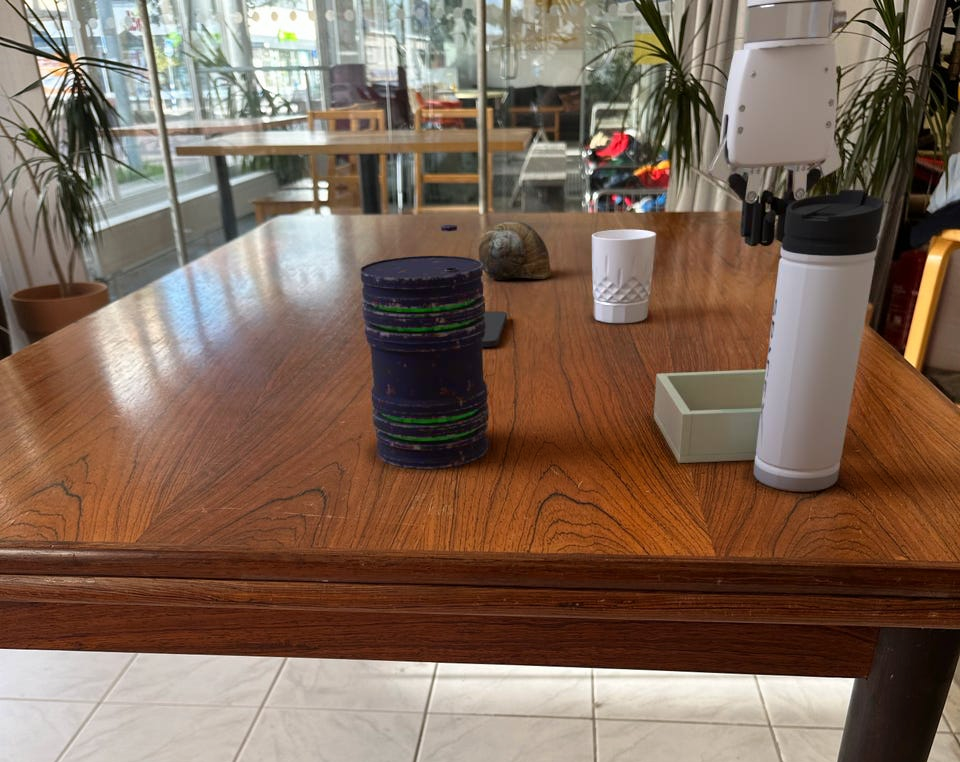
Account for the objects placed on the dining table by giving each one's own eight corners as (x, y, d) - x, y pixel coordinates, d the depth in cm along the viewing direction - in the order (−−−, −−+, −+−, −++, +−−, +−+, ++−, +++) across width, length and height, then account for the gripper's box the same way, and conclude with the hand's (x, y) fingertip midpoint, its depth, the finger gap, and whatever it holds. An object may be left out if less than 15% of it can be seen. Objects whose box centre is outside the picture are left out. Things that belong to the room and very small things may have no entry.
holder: (779, 413, 86) (785, 368, 84) (820, 457, 77) (828, 408, 74) (653, 418, 87) (656, 373, 84) (678, 463, 77) (682, 414, 74)
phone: (434, 341, 110) (451, 311, 123) (434, 348, 111) (451, 318, 123) (497, 341, 109) (508, 311, 122) (497, 348, 110) (508, 317, 123)
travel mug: (852, 473, 73) (903, 191, 63) (815, 499, 69) (862, 202, 59) (778, 456, 77) (814, 187, 67) (738, 480, 73) (770, 197, 63)
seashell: (476, 284, 143) (474, 227, 139) (482, 272, 151) (480, 218, 147) (551, 282, 142) (551, 225, 138) (552, 271, 150) (552, 216, 146)
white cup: (619, 308, 126) (622, 227, 120) (664, 317, 120) (669, 233, 115) (576, 318, 121) (578, 235, 116) (621, 328, 116) (625, 241, 111)
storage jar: (352, 456, 81) (327, 230, 71) (421, 423, 88) (406, 213, 78) (446, 477, 76) (433, 237, 66) (511, 440, 83) (507, 218, 73)
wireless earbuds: (748, 240, 99) (751, 188, 96) (773, 238, 99) (776, 185, 96) (764, 251, 93) (767, 195, 90) (790, 248, 93) (793, 192, 90)
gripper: (860, 25, 90) (834, 233, 99) (690, 37, 90) (680, 243, 99) (891, 20, 83) (860, 243, 93) (707, 33, 84) (695, 254, 93)
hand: (767, 241), depth 96 cm, fingers closed on wireless earbuds, 2 cm apart
